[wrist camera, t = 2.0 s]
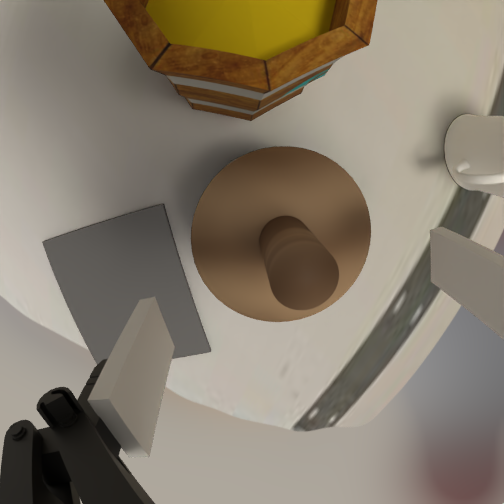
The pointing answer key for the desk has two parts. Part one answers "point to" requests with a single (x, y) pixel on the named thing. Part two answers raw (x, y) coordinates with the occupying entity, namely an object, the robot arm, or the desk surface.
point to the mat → (125, 280)
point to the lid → (280, 234)
